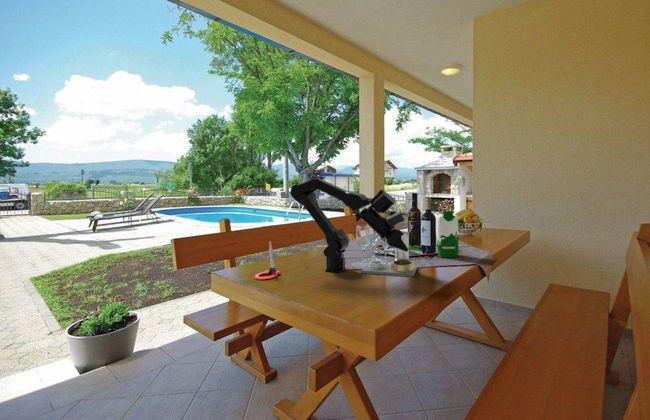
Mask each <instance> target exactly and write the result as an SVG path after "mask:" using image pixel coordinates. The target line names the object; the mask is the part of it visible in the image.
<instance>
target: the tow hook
mask: <svg viewBox="0 0 650 420" xmlns="http://www.w3.org/2000/svg"><path fill="white" fill-rule="evenodd" d="M268 245H269V247H268V249H269V250H268V251H269V266H270V267H269V269H266V270H265V271H262V272H259V273H256V274H255V275H254V279H255V278H256V279H260V280H259V281H265V280H264V279H270V280H273V279H275V278H277V277H278V274H280V275H281V274H282V271H281V270H277V267H276V266H275V260H274V253H273V246H272V241H269V242H268ZM269 273H271V274H270V276H264V275H263V274H266V275H269ZM260 275H262V277H261V276H260ZM272 278H273V279H272ZM256 279H255V280H256Z"/></svg>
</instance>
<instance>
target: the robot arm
mask: <svg viewBox="0 0 650 420" xmlns="http://www.w3.org/2000/svg"><path fill="white" fill-rule="evenodd" d="M290 188H291V189H290V193H289V194H290V196H291V198H293V200H295V201H296V202H297V203H298V204H300V205H301V206H303V207H304V208H305V210H306V211H307V212H308V214H309V215H310V217H311V218H312V219H313V221H314V222H315V223H316V225H317V226H318V228H319V229H320V230H321V232H323V234H324V236H325V241H326V244H327V246H326V248H324V250H322V251H323V252H322V253H323V255H324V257H325V258H326V259H325V260H326V261H325V262H326V269H324V272H330V273H331V272H332V273H333V272H335V273H341V272H342V271H344V270H345V269H346V268H347V267H346V258H345V257H344V255H345V254H344V253H345V252H346V249H348V247H349V245H350V244H349V243H350V240H349V238H348V237H349V236H348V235H347V234H346V233H345V231H344V230H343V228H339V229H338V228H336V227H335V226H334V224H332V222H331V221H330V219H329V218H328V217H327V215H326V214H325V213H324V212H323V210H322V208H320V206H319V205H318V203H317V202H316V201H315V198H314V194H313V193H315V192H316V191H317V190H318V191H320V192H323V193H325V194H327V195H329V196H331V197H333V198H336V199H338V200H339V201H341V202H342V203H343V204H344V205H345V206H347V208H350V209H351V210H353V211H358V210H361V211H359V212H355V223H357V222H359V221H360V220H362V221H364V222H365V224H366V225H368V226H369V227H370V228H371V230H372V231H374V232H375V233H376V234H377V236H378V237H379V238H380V239H382V240H383V241H384V242H385V243H386V244H387V245H388V246H390V247H393V248H394V249H395V248H398V249H401V250H403V251H406V252H407V251H408V248H407V247H406V245H405V244H404V242H403V241H402V239H401V236H402V235H403V233H402V232H401V229H399V228H395V227H396V225H397V224H399V223H402V222H404V221H405V218H404V216H403V214H402V212H400V211H396V212H394V211H393V210H391V211H389V212H388V216H387V217H384V216H382V215H381V214H380V213H382V214H385V213H386V212H387V211H388V210H390V208H391V207H393V205H395V204H396V200H395V199H394V198H393V196H392V195H390V194H389V193H388V192H386V191H385V190H384V189H380V190H379V191H378V192H377V193H376V195H375V196H373V198H372V197H371V198H370V197H367V196H366V195H365V194H363V193H359V192H355V191H349V190H346V189H344V188H342V187H340V186H337V185H335V184H332V183H331V182H328V181H326V180H324V179H323V178H322V177H321V178H320V177H314V178H312V179H311V180H307V181H306V182H303V183H300V184H294V185H292V187H290ZM367 206H368V207H367Z"/></svg>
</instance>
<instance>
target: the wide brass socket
mask: <svg viewBox="0 0 650 420" xmlns="http://www.w3.org/2000/svg"><path fill="white" fill-rule="evenodd" d="M390 265H391V270H393V271H396V272H411V271H414V266H415V261H412V260H409V264H408V265H398V264H395V260H392V261H391V262H390Z"/></svg>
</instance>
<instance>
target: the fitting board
mask: <svg viewBox="0 0 650 420" xmlns="http://www.w3.org/2000/svg"><path fill="white" fill-rule="evenodd" d="M417 269H418V266H417V265H414V271H411V272H396V271H393V270H391V264H386V263H384V268H383V269H378V270H376V269H370V268H368V263H367V265H365V266H364V267H363V268H361V270H360V273H361V274H367V275H368V274H371V275H382V276H383V275H385V276H399V277H414V275H415V274H416V272H417Z"/></svg>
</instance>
